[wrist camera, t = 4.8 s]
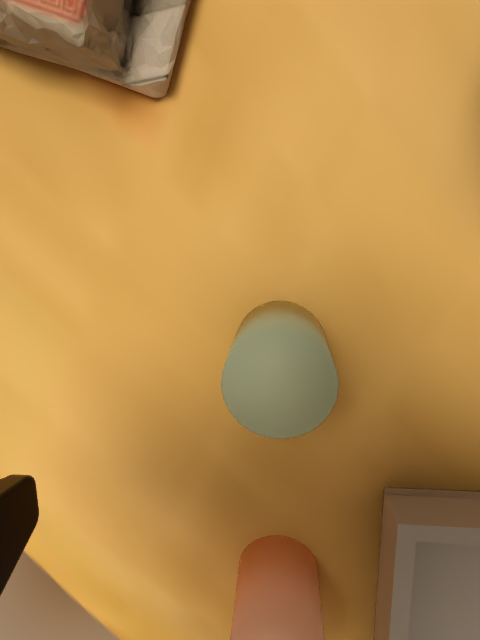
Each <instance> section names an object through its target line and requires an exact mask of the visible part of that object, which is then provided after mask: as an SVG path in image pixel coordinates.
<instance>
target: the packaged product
mask: <svg viewBox="0 0 480 640" xmlns="http://www.w3.org/2000/svg"><path fill="white" fill-rule="evenodd" d="M190 3H191V0H0V46H1V47H3V48H6V49H9V50H12V51H14V52H17V53H21V54H24V55H28V56H31V57H35V58H38V59H42V60H46V61H49V62H53V63H56V64H60V65H63V66H67V67H70V68H74V69H78V70H80V71H83V72H85V73H88V74H91V75H93V76H96V77H99V78H101V79H104V80H107V81H110V82H112V83H115V84H118V85H120V86H123V87H126V88H128V89H131V90H134V91H137V92H139V93H142V94H145V95H147V96H150V97H153V98H161V97H163V96H165V95H166V93H167V90H168V87H169V83H170V80H171V76H172V72H173V68H174V64H175V60H176V56H177V52H178V48H179V45H180V41H181V37H182V33H183V28H184V23H185V19H186V16H187V13H188V10H189V6H190Z"/></svg>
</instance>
